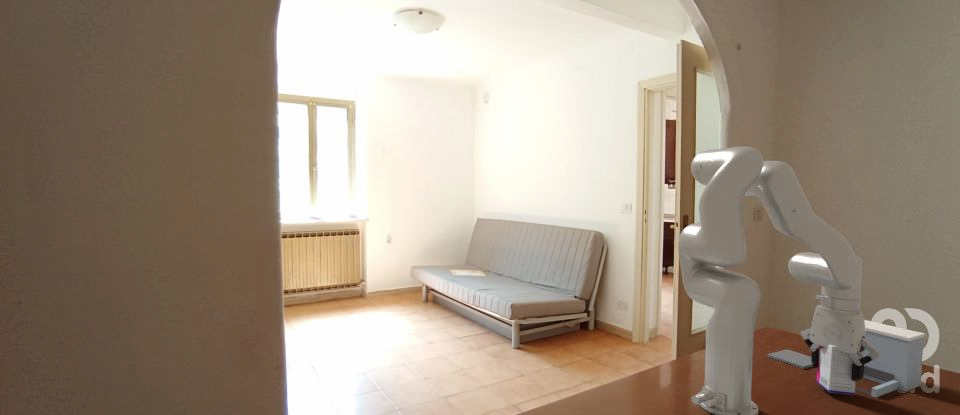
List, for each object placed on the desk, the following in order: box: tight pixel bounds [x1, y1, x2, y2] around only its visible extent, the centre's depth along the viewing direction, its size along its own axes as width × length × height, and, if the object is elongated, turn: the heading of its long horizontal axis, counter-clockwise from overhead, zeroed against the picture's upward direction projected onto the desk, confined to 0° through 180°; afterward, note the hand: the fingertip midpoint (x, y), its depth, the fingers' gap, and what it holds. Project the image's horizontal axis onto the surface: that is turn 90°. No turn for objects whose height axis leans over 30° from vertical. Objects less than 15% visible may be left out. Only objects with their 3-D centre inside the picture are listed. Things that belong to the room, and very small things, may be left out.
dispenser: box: [862, 319, 926, 398], centre depth 118 cm, size 19×14×14 cm
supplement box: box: [816, 345, 856, 396], centre depth 111 cm, size 6×6×12 cm
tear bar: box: [855, 386, 872, 397], centre depth 114 cm, size 1×9×1 cm, turn 26°
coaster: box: [766, 348, 813, 370], centre depth 132 cm, size 10×10×1 cm
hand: (836, 372), depth 111 cm, fingers closed on supplement box, 7 cm apart
